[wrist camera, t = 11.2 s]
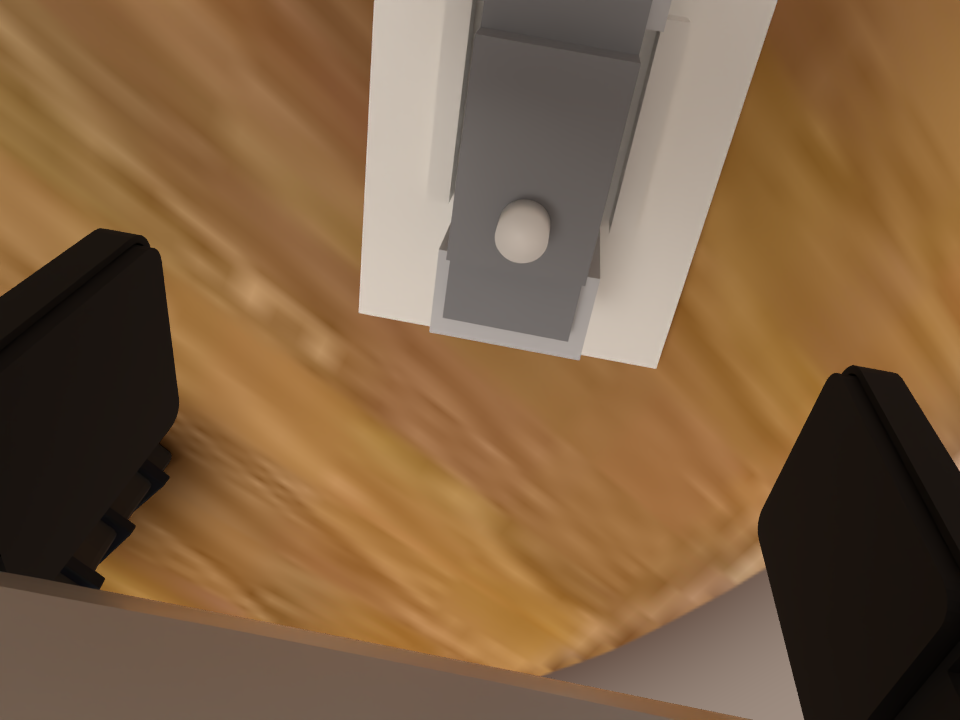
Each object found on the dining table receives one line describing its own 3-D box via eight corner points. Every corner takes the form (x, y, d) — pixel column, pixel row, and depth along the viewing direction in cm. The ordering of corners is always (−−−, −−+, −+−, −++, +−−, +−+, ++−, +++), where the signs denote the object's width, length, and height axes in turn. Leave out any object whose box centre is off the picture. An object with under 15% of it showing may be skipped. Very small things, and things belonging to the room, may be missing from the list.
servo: (515, -94, 21) (484, -87, 15) (653, -71, 21) (675, -54, 15) (466, 251, 27) (430, 351, 21) (572, 272, 27) (566, 377, 21)
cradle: (396, -268, 20) (338, -313, 15) (833, -199, 20) (904, -225, 15) (365, 301, 30) (324, 374, 25) (654, 355, 30) (664, 438, 25)
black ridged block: (-27, 550, 40) (-222, 765, 26) (141, 384, 39) (35, 511, 25) (32, 588, 41) (-123, 815, 27) (196, 428, 41) (124, 574, 26)
